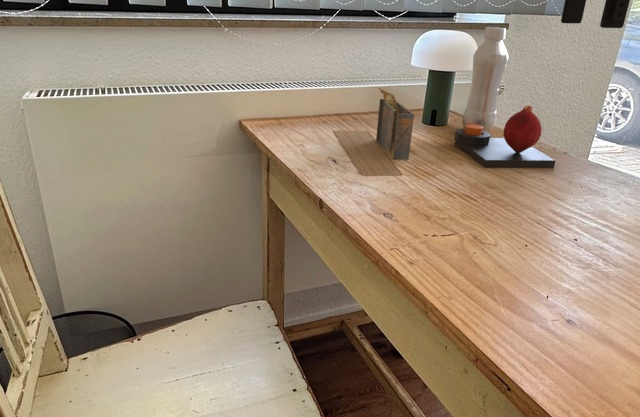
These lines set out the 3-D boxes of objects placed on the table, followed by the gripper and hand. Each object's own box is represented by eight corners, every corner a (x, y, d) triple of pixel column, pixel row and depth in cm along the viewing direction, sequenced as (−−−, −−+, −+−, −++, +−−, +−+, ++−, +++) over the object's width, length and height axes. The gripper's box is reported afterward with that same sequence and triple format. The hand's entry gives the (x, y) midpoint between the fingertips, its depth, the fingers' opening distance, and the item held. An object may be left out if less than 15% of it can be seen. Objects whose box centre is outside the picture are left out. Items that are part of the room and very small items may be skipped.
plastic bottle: (485, 128, 103) (505, 27, 95) (498, 137, 97) (520, 30, 88) (455, 127, 102) (472, 25, 94) (466, 136, 96) (485, 28, 88)
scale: (514, 144, 93) (517, 129, 91) (553, 168, 80) (558, 151, 79) (448, 143, 91) (451, 128, 90) (478, 168, 79) (482, 150, 78)
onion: (528, 160, 79) (540, 111, 76) (494, 152, 82) (503, 104, 79) (540, 153, 83) (551, 106, 80) (507, 145, 87) (516, 100, 83)
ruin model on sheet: (332, 130, 96) (335, 79, 92) (413, 131, 98) (419, 81, 94) (361, 175, 73) (366, 110, 69) (464, 174, 76) (475, 112, 72)
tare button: (477, 132, 89) (478, 124, 88) (484, 137, 86) (485, 128, 86) (461, 132, 89) (462, 123, 88) (468, 137, 86) (469, 128, 85)
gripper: (697, -121, 59) (655, 30, 66) (605, -98, 75) (578, 22, 82) (640, -124, 58) (603, 29, 65) (558, -100, 74) (536, 21, 81)
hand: (589, 25), depth 73 cm, fingers open, 9 cm apart
